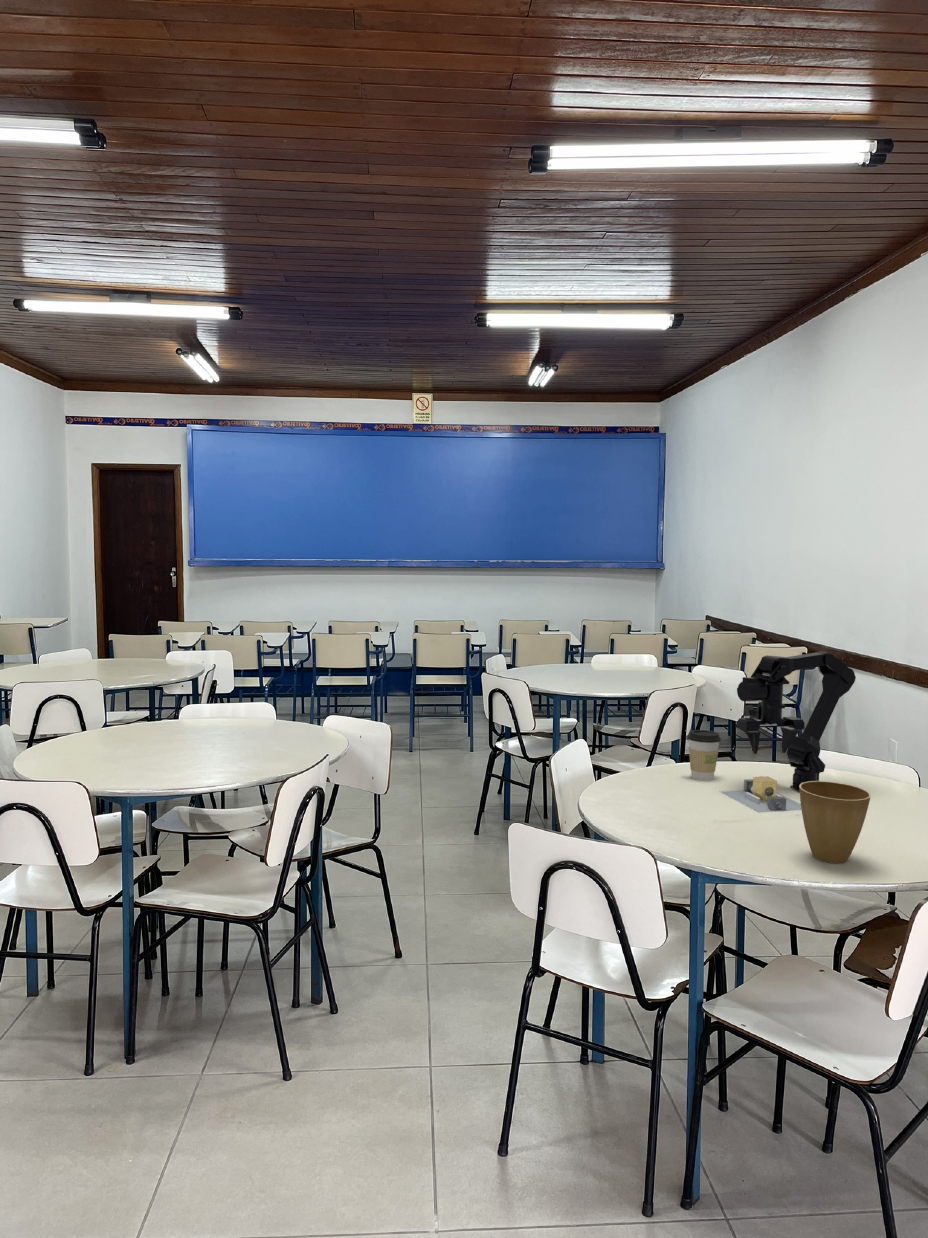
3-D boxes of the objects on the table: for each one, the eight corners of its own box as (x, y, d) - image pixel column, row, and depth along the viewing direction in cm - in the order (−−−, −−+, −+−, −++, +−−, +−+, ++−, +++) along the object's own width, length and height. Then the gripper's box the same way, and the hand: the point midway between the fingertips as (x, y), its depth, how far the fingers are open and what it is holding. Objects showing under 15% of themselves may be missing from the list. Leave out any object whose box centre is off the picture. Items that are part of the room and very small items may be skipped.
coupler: (776, 802, 233) (777, 780, 233) (761, 802, 232) (762, 781, 232) (766, 797, 238) (767, 776, 237) (752, 798, 237) (753, 776, 236)
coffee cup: (723, 786, 253) (725, 736, 252) (690, 785, 253) (692, 736, 252) (714, 777, 263) (716, 730, 262) (682, 776, 263) (684, 729, 262)
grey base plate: (768, 793, 247) (769, 783, 246) (811, 813, 227) (812, 803, 227) (719, 795, 243) (719, 786, 243) (758, 816, 224) (758, 806, 223)
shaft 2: (762, 804, 231) (763, 792, 231) (777, 804, 231) (777, 792, 231) (771, 810, 225) (771, 798, 225) (785, 810, 226) (786, 798, 225)
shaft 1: (765, 796, 239) (765, 784, 239) (751, 796, 239) (751, 784, 239) (757, 790, 245) (757, 779, 244) (743, 790, 244) (744, 779, 244)
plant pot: (794, 863, 189) (797, 793, 188) (797, 843, 203) (800, 778, 202) (868, 874, 183) (872, 802, 182) (865, 853, 197) (869, 785, 196)
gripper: (784, 694, 253) (781, 746, 254) (727, 695, 249) (725, 748, 250) (807, 701, 242) (804, 754, 244) (748, 702, 238) (746, 757, 239)
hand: (769, 753), depth 244 cm, fingers open, 9 cm apart
